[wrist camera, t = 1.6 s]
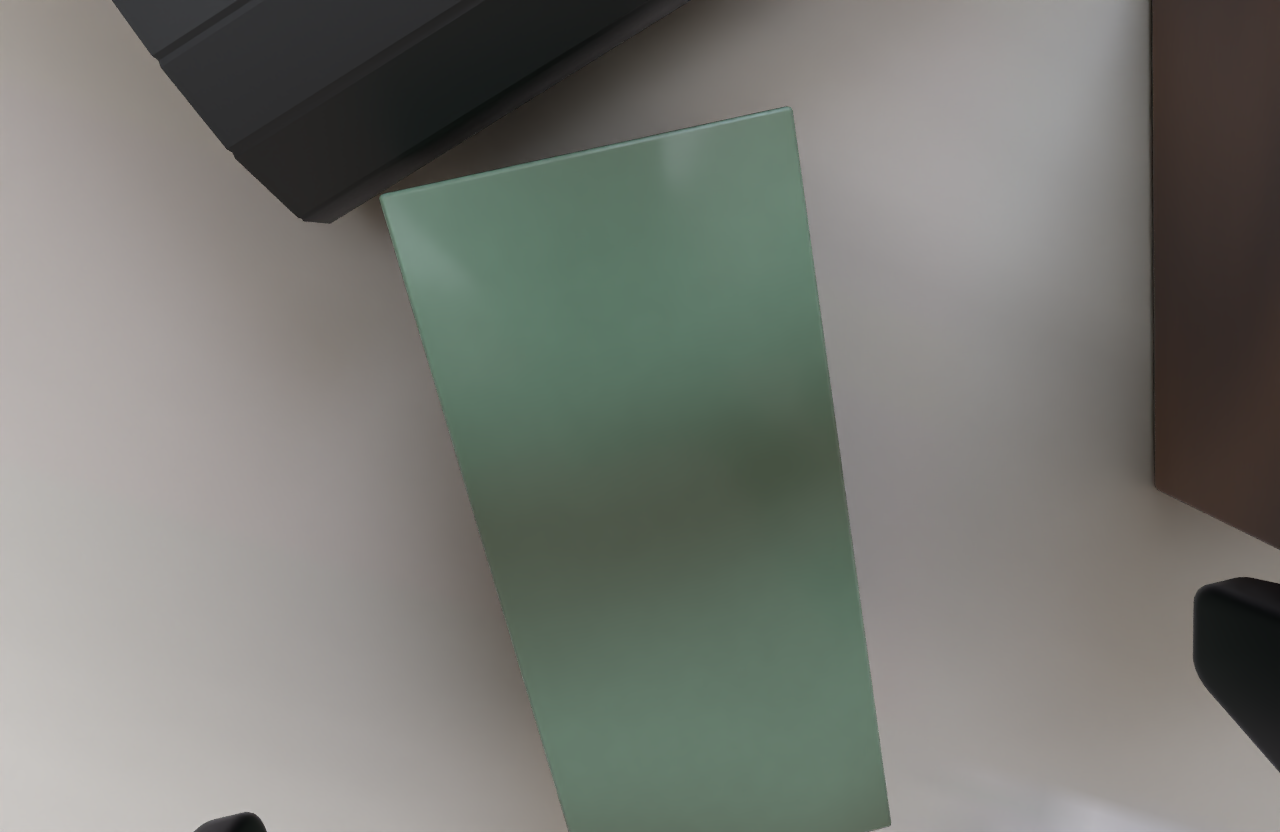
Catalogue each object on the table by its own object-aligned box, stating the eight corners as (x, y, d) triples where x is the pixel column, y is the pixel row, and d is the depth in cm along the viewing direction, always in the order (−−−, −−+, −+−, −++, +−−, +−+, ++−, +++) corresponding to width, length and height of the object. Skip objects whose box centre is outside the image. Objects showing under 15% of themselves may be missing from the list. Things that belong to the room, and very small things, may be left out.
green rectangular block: (814, 675, 16) (892, 827, 12) (584, 730, 16) (589, 901, 12) (726, 133, 13) (793, 104, 9) (435, 196, 13) (376, 195, 9)
